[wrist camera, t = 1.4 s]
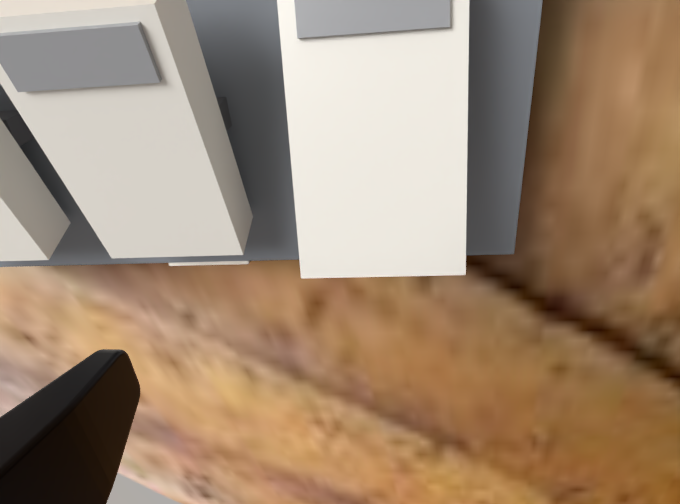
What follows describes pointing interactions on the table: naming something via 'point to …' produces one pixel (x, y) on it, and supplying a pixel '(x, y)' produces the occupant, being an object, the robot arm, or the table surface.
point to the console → (273, 139)
